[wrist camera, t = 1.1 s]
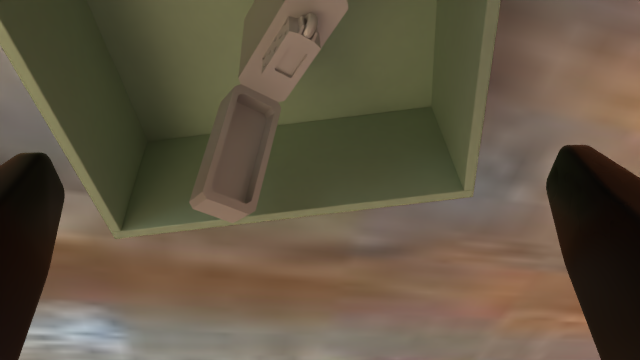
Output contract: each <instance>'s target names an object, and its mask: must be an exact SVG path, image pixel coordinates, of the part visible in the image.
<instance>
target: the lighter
mask: <svg viewBox="0 0 640 360" xmlns="http://www.w3.org/2000/svg"><path fill="white" fill-rule="evenodd" d="M348 9H349V8H348V2H347V0H255V1H254V3H253V4H252V6H251V8H250V10H249V12H248V13H247V15H246V17H245V19H244V28H243V38H242V47H241V57H240V67H239V76H238V79H239V81H240V85H237V86H234V88H233V89H232V90H231V91H230V92H229V93H228V94H227V96H226V97H225V98H224V99H223V100H222V101H221V102H220V106H219V109H218V112H217V115H216V118H215V122H214V125H213V128H212V131H211V134H210V137H209V141H208V144H207V147H206V150H205V153H204V156H203V160H202V163H201V166H200V169H199V172H198V175H197V179H196V182H195V185H194V188H193V191H192V194H191V198H190V201H189V203H190V205H191V207H192V208H193V209H194V210H197V211H200V212H203V213H206V214H208V215H211V216H214V217H217V218H220V219H222V220H225V221H228V222H231V223H234V222H236V221H238V220H240V219H242V218H244V217H245V216H247V215H249V214H251V213H253V212H254V211H256V207H257V203H258V199H259V195H260V191H261V187H262V183H263V179H264V175H265V171H266V167H267V163H268V159H269V155H270V151H271V147H272V144H273V140H274V136H275V132H276V128H277V124H278V120H279V116H280V112H281V107H280V105H279V103H278V102H281V101H285V100H286V98H287V97H288V95H289V94H290V92H291V91H292V90H293V89H294V87H295V86H296V84H297V83H298V81H299V80H300V78H301V77H302V76H303V74H304V73H305V71H306V70H307V68H308V67H309V65H310V64H311V63H312V61H313V60H314V58H315V57H316V55H317V54H318V52H319V51H320V50H321V48H322V46H323V45H324V43H325V42H326V40H327V39H328V38H329V36H330V35H331V33H332V32H333V30H334V29H335V27H336V26H337V25H338V23H339V22H340V20H341V19H342V17H343V16H344V14H345V13H346V12H347V10H348Z"/></svg>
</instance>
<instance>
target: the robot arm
mask: <svg viewBox="0 0 640 360" xmlns="http://www.w3.org/2000/svg"><path fill="white" fill-rule="evenodd" d="M546 190H547V195H548V199H549V203H550V207H551V211H552V215H553V219H554V223H555V227H556V231H557V235H558V239H559V243H560V247H561V251H562V255H563V258H564V262H565V265H566V268H567V271H568V274H569V277H570V279H571V282H572V284H573V287H574V290H575V292H576V295H577V298H578V300H579V303H580V305H581V308H582V311H583V313H584V316H585V319H586V321H587V324H588V327H589V329H590V332H591V334H592V337H593V340H594V342H595V345H596V348H597V350H598V353H599V355H600V358H601V360H640V178H639V177H637V176H636V175H634V174H633V173H631V172H630V171H628V170H626V169H625V168H623V167H622V166H620V165H619V164H617V163H615V162H614V161H612V160H611V159H609V158H608V157H606V156H604V155H603V154H601V153H600V152H598V151H597V150H595V149H593V148H592V147H590V146H588V145H566V146H564V147H562V148H561V149H560V151H559V153H558V155H557V157H556V160H555V162H554V164H553V167H552V169H551V171H550V173H549V176H548V178H547V183H546ZM64 195H65V194H64V188H63V185H62V183H61V181H60V179H59V176H58V174H57V172H56V170H55V168H54V166H53V164H52V162H51V160H50V158H49V157H48V156H47V155H46V154H44V153H20V154H18V155H16V156H14V157H13V158H11V159H10V160H8V161H7V162H5V163H4V164H2V165H1V166H0V360H18V359H19V356H20V353H21V350H22V347H23V345H24V342H25V339H26V336H27V333H28V330H29V327H30V325H31V322H32V319H33V316H34V313H35V310H36V307H37V305H38V302H39V299H40V296H41V293H42V290H43V287H44V284H45V281H46V278H47V275H48V271H49V267H50V263H51V259H52V254H53V249H54V245H55V240H56V235H57V231H58V226H59V222H60V217H61V212H62V208H63V203H64Z"/></svg>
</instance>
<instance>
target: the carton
mask: <svg viewBox="0 0 640 360" xmlns="http://www.w3.org/2000/svg"><path fill="white" fill-rule="evenodd" d="M254 1H255V0H0V45H1V47H2V48H3V50H4V52H5V54H6V55H7V57H8V59H9V60H10V62H11V64H12V65H13V67H14V69H15V70H16V72H17V74H18V76H19V77H20V79H21V81H22V82H23V84H24V86H25V87H26V89H27V91H28V92H29V94H30V96H31V98H32V99H33V101H34V103H35V104H36V106H37V108H38V109H39V111H40V113H41V114H42V116H43V118H44V119H45V121H46V123H47V125H48V126H49V128H50V130H51V131H52V133H53V135H54V136H55V138H56V140H57V141H58V143H59V145H60V147H61V148H62V150H63V152H64V153H65V155H66V157H67V158H68V160H69V162H70V163H71V165H72V167H73V169H74V170H75V172H76V174H77V175H78V177H79V179H80V180H81V182H82V184H83V185H84V187H85V189H86V191H87V192H88V194H89V196H90V197H91V199H92V201H93V202H94V204H95V206H96V207H97V209H98V211H99V213H100V214H101V216H102V218H103V219H104V221H105V223H106V224H107V226H108V228H109V229H110V231H111V232H112V235H113V236H114V238H115V239H120V238H128V237H137V236H145V235H153V234H162V233H170V232H179V231H187V230H196V229H204V228H213V227H221V226H230V225H238V224H247V223H255V222H264V221H272V220H281V219H289V218H297V217H306V216H314V215H323V214H331V213H340V212H348V211H357V210H365V209H374V208H382V207H391V206H399V205H408V204H416V203H424V202H433V201H441V200H450V199H458V198H467V197H473V192H474V185H475V178H476V171H477V164H478V157H479V150H480V143H481V136H482V129H483V122H484V115H485V108H486V101H487V94H488V87H489V80H490V73H491V66H492V59H493V52H494V45H495V38H496V31H497V24H498V17H499V10H500V3H501V0H347V2H348V8H349V9H348V10H347V12H346V13H345V14H344V16H343V17H342V19H341V20H340V22H339V23H338V25H337V26H336V27H335V29H334V30H333V32H332V33H331V35H330V36H329V38H328V39H327V40H326V42H325V43H324V45H323V46H322V48H321V50H320V51H319V52H318V54H317V55H316V57H315V58H314V60H313V61H312V63H311V64H310V65H309V67H308V68H307V70H306V71H305V73H304V74H303V76H302V77H301V78H300V80H299V81H298V83H297V84H296V86H295V87H294V89H293V90H292V91H291V92H290V94H289V95H288V97H287V98H286V100H285V101H281V102H278V103H279V105H280V107H281V112H280V116H279V120H278V124H277V128H276V132H275V136H274V140H273V144H272V147H271V151H270V155H269V159H268V163H267V167H266V171H265V175H264V179H263V183H262V187H261V191H260V195H259V199H258V203H257V207H256V211H254V212H253V213H251V214H249V215H247V216H245V217H244V218H242V219H240V220H238V221H236V222H234V223H231V222H228V221H225V220H222V219H220V218H217V217H214V216H211V215H208V214H206V213H203V212H200V211H197V210H194V209H193V208H192V207H191V205H190V203H189V201H190V198H191V194H192V191H193V188H194V185H195V182H196V179H197V175H198V172H199V169H200V166H201V163H202V160H203V156H204V153H205V150H206V147H207V144H208V141H209V137H210V134H211V131H212V128H213V125H214V122H215V118H216V115H217V112H218V109H219V106H220V102H221V101H222V100H223V99H224V98H225V97H226V96H227V94H228V93H229V92H230V91H231V90H232V89H233V88H234V86H237V85H240V81H239V79H238V76H239V67H240V57H241V47H242V38H243V28H244V19H245V17H246V15H247V13H248V12H249V10H250V8H251V6H252V4H253V3H254Z"/></svg>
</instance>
